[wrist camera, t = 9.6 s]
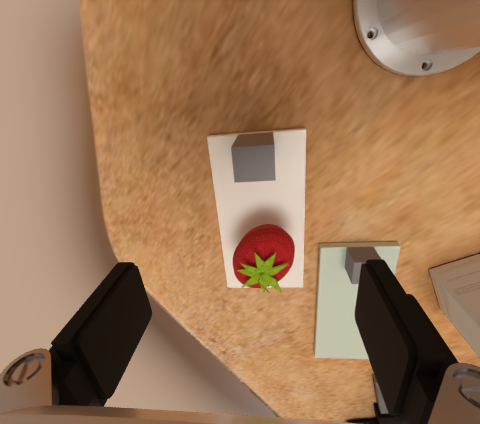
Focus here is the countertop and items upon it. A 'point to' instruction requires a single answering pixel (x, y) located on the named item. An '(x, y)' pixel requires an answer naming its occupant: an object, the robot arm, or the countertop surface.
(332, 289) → the pale green board
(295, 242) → the white serving board
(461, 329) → the supplement box
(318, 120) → the countertop surface
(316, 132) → the countertop surface
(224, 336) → the countertop surface
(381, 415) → the door handle
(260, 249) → the strawberry
